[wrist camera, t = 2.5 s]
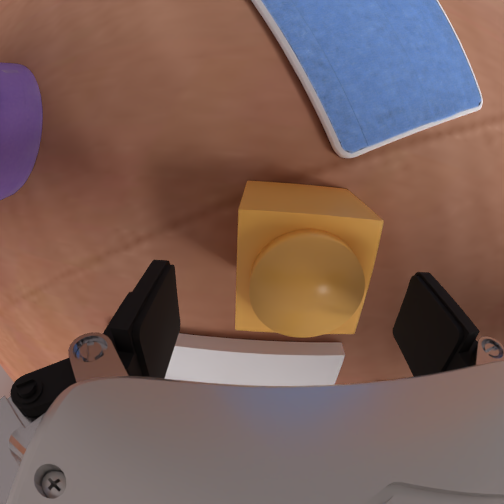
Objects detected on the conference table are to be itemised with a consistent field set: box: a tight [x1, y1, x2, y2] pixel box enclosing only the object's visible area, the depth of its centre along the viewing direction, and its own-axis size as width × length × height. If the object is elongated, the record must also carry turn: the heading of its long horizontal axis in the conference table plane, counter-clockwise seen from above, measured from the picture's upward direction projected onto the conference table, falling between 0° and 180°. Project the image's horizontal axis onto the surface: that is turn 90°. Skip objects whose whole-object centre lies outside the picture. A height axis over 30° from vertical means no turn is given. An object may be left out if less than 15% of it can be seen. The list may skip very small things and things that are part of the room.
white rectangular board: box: [165, 333, 345, 386], centre depth 22 cm, size 18×14×6 cm
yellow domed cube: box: [235, 181, 384, 338], centre depth 15 cm, size 6×6×7 cm
